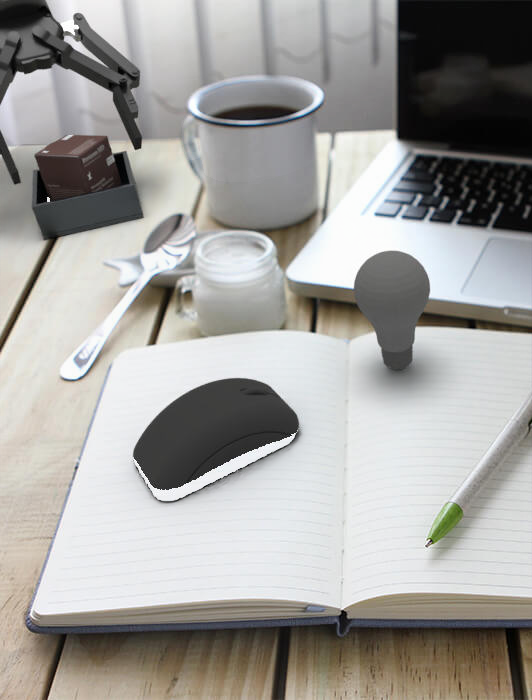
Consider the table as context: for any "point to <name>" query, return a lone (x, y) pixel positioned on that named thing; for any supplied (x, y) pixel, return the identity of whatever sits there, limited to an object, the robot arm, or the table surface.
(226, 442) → the computer mouse
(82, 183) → the box
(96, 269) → the table surface
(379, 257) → the light bulb
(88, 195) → the dark grey open tray
